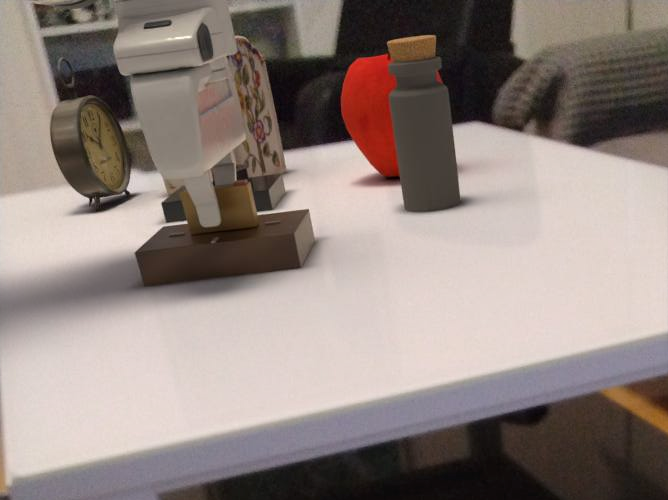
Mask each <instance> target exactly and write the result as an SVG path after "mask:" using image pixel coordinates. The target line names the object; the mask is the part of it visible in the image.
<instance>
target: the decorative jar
mask: <svg viewBox="0 0 668 500" xmlns="http://www.w3.org/2000/svg"><path fill="white" fill-rule="evenodd" d="M234 35H235V40H236V45H237V49H238V52H237V53H236V54H233V55H229V56H226V57H227V59H228V61H229V64H230V67H231V70H232V74H233V77H234V81H235V85H236V89H237V93H238V97H239V101H240V105H241V109H242V113H243V117H244V122H245V129H246V139H245V140H244V141H243V142H242V143H241V144H239V145H238V146H237V147H236V148H235V149H234V150H233V151H234V156H235V160H236V164H244V165H248V166H249V168H250V172H251V177H256V176H265V175H273V174H282V175H284V174H286V173H287V166H286V160H285V154H284V149H283V143H282V137H281V133H280V127H279V123H278V116H277V112H276V107H275V103H274V97H273V92H272V87H271V83H270V79H269V74H268V69H267V64H266V59H265V56H263V55H262V54H261V52H260V51H259V49H257V47H255V46H254V44H252V43H251V41H249V40H248V38H247V37H245V36H242V35H238V34H234ZM162 180H163V184H164V187H165V189H166V194H167V195H168V196H170V195H171V194H173V193H174V192H175V191H176V190H178V189H179V188H180V187H181V186H183V185H185V183H184V179H177V180H165V179H163V178H162Z"/></svg>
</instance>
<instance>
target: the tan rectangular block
mask: <svg viewBox="0 0 668 500" xmlns="http://www.w3.org/2000/svg"><path fill="white" fill-rule="evenodd" d="M213 187H214V190H215V194H216V197H217V201H219V200H220V204H221V208H222V213H223V217H224V218H223V221H222V222H221V223H220V224H219V225H218V226H214V227H206V228H205V227H203V226H202V225H201V224H200V221H199V217H198V214H197V210H196V206H195V205H194V203H193V201H192V199H191V197H190V195H189V193H188V191H187V189H186V190H183V191H182V192H181V193H180V196H181V200H182V204H183V207H184V211H185V215H186V219H187V220H186V222H187V223H186V224H188V227H189V231H190V234H191V235H193V234H201V233H210V232H218V231H226V230H234V229H243V228H251V227H256V226H257V225H258V224H259V220H258V215H259V214H258V212H257V211H256V206H255V202H254V197H253V193H252V188H251V183H250V182H248V181H247V179H244V180H236V181H235V182H234V183H233V184H227V185H218V186H213Z"/></svg>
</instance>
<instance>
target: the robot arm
mask: <svg viewBox="0 0 668 500" xmlns="http://www.w3.org/2000/svg"><path fill="white" fill-rule="evenodd" d="M22 1H23V2H27V3H31V4H36V5H44V6H50V7H53V8H55V9H61V10H78V9H83V8H86V7H88V6H89V7H90V6H92V5H93V4H95V3H97V2H99V0H22ZM112 2H113V5H114V10H115V13H116V18H117V27H118V31H117V34H116V37H115V40H114V42H113V47H112V49H113V55H114V58H115V63H116V66H117V69H118V72H119V73H120V75H122V76H131V77H130V81H129V85H130V92H131V97H132V101H133V104H134V107H135V110H136V111H135V112H136V114H137V117H138V120H139V123H140V127H141V130H142V133H143V137H144V139H145V142H146V145H147V149H148V151H149V155H150V157H151V159H152V162H153V164H154V166H155V168H156V170H157V172H158V173H159V175H160V176H161V178H162V180H163V179H165V180H177V179H184V183H185V187H186V189H187V191H188V193H189V195H190V197H191V199H192V201H193V203H194V205H195V206H196V210H197V214H198V217H199V221H200V224H201V225H202V226H203V227H205V228H206V227H214V226H218V225H219V224H220V223H221V222H222V221H223V218H224V217H223V213H222V208H221V204H220V200H219V201H217V197H216V194H215V190H214V187H213V184H212V182H213V176H212V172H211V168H212V169H213V175H214V180H215V185H216V186H218V185H227V184H233V183H234V182H235V181H236V180H237V179H236V160H235V156H234V151H233V150H234V149H235V148H236V147H237V146H238V145H239V144H241V143H242V142H243V141H244V140H245V139H246V129H245V122H244V117H243V113H242V109H241V105H240V101H239V97H238V93H237V89H236V85H235V81H234V77H233V74H232V70H231V67H230V64H229V61H228V59H227V57H226V56H229V55H233V54H236V53H237V52H238V49H237V45H236V40H235V35H236V34H235V31H234V27H233V26H234V25H233V21H232V18H231V13H230V8H229V4H228V3H229V2H228V0H112Z"/></svg>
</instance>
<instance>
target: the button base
mask: <svg viewBox="0 0 668 500" xmlns="http://www.w3.org/2000/svg"><path fill="white" fill-rule="evenodd" d="M212 176H213V182H212V184H213V186H216V185H215V180H214V175H213V174H212ZM236 179H237V180H244V179H247V181H248V182H250V183H251V188H252V193H253V197H254V202H255V206H256V211H257V213H260V212H268V211H273V210H274V209H275V208H276V206H277V205H278V204H279V202H281V199H282V198H283V197H284V196H285V195H286V191H287V190H286V187H285V181H284V176H283V174H273V175H265V176H256V177H251V172H250V168H249V166H248V165H244V164H236ZM183 190H186V187H185V185H183V186H181V187H180V188H179V189H178V190H176V191H175V192H174V193H173V194H171V195H168V196H167V197H166V198H165V199H164V200H162V201H161V203H160V205H161V208H162V212H163V216H164V219H165V224H166V223H167V224H169V223H177V222H187V219H186V215H185V211H184V207H183V204H182V200H181V196H180V193H181V192H182V191H183Z"/></svg>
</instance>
